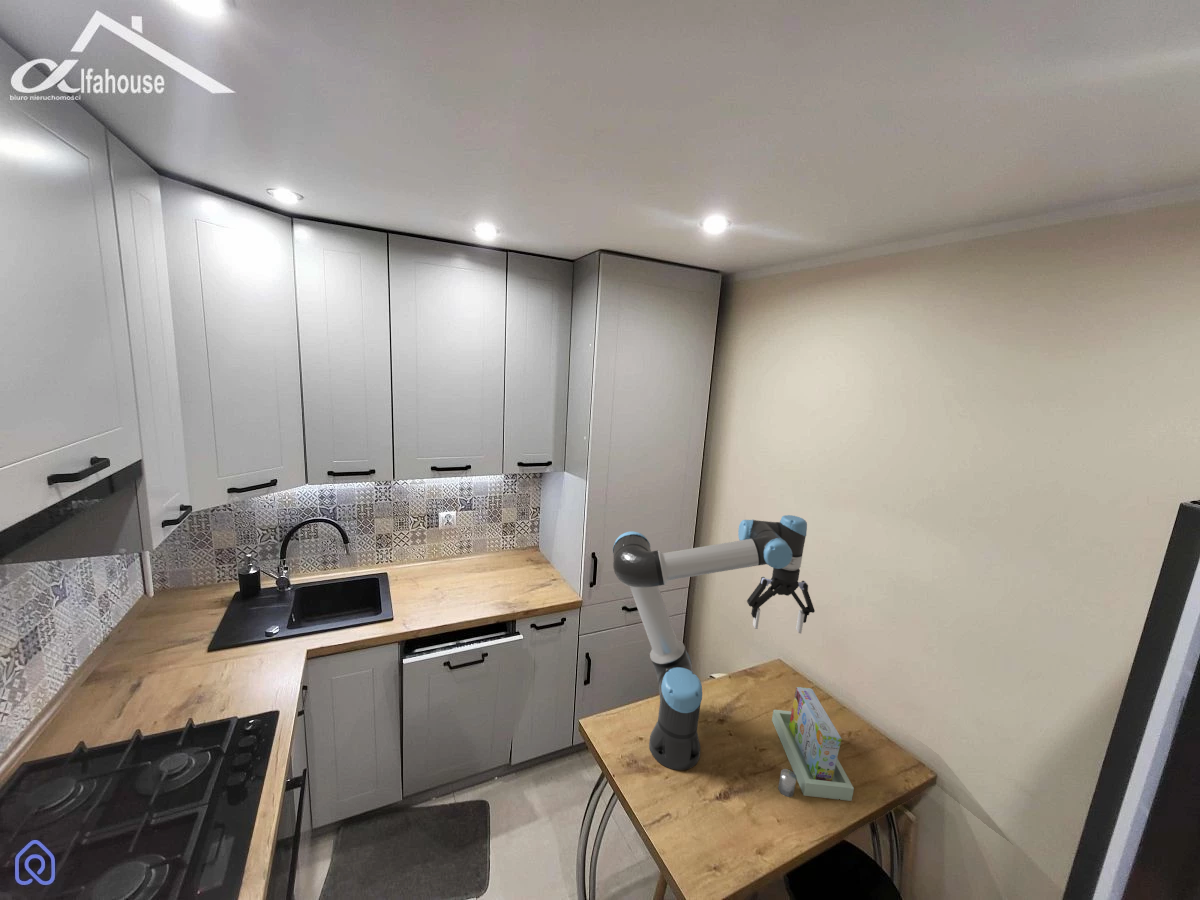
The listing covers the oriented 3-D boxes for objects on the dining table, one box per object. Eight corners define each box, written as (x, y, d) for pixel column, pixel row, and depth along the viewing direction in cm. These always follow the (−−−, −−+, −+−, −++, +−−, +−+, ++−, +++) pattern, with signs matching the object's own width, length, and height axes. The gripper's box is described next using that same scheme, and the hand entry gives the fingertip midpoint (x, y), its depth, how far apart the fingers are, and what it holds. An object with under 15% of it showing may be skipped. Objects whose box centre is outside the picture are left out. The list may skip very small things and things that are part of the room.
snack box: (833, 785, 131) (843, 738, 129) (813, 783, 131) (822, 736, 129) (804, 728, 152) (812, 687, 149) (787, 726, 152) (794, 685, 150)
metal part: (781, 796, 128) (783, 780, 127) (776, 783, 132) (778, 768, 131) (795, 797, 127) (798, 782, 127) (790, 784, 131) (793, 769, 131)
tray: (803, 795, 128) (805, 783, 128) (771, 720, 156) (773, 709, 155) (851, 800, 128) (854, 788, 127) (811, 724, 155) (812, 713, 155)
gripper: (749, 566, 140) (739, 631, 144) (833, 575, 139) (821, 639, 143) (743, 556, 147) (734, 618, 151) (822, 564, 147) (811, 626, 150)
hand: (776, 628), depth 147 cm, fingers open, 13 cm apart
